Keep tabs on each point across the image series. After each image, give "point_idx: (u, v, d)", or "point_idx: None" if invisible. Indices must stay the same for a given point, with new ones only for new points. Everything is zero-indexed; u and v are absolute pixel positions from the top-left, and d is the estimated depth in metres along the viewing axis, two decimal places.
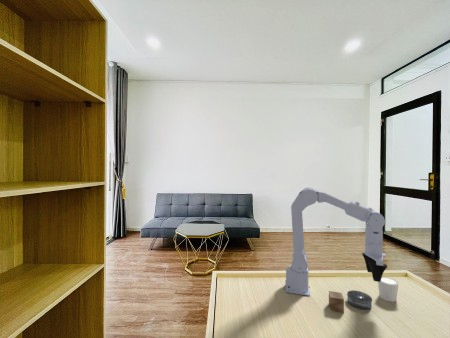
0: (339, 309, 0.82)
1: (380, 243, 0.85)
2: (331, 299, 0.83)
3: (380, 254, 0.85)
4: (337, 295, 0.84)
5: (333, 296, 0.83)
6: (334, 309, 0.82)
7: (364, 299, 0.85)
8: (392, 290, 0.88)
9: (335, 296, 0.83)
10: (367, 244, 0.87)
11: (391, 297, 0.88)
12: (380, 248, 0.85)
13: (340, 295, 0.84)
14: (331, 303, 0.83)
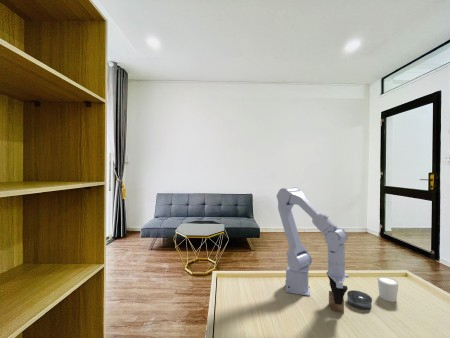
0: (339, 309, 0.82)
1: (337, 263, 0.82)
2: (331, 299, 0.83)
3: (342, 275, 0.82)
4: None
5: (333, 296, 0.83)
6: (334, 309, 0.82)
7: (364, 299, 0.85)
8: (392, 290, 0.88)
9: None
10: (329, 264, 0.84)
11: (391, 297, 0.88)
12: (342, 269, 0.81)
13: None
14: (331, 303, 0.83)
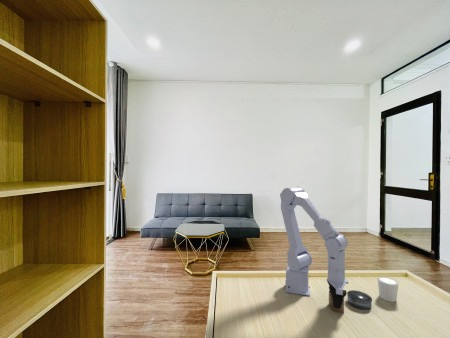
0: (339, 309, 0.82)
1: (337, 270, 0.82)
2: (331, 299, 0.83)
3: (342, 281, 0.82)
4: None
5: None
6: (334, 309, 0.82)
7: (364, 299, 0.85)
8: (392, 290, 0.88)
9: None
10: (329, 270, 0.84)
11: (391, 297, 0.88)
12: (342, 275, 0.82)
13: None
14: (331, 303, 0.83)
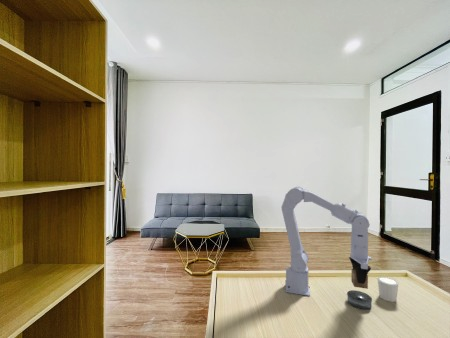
0: (363, 285, 0.85)
1: (364, 246, 0.84)
2: (355, 275, 0.86)
3: (365, 257, 0.84)
4: None
5: None
6: (358, 285, 0.85)
7: (364, 299, 0.85)
8: (392, 290, 0.88)
9: None
10: (352, 247, 0.87)
11: (391, 297, 0.88)
12: (365, 251, 0.84)
13: None
14: (355, 279, 0.86)
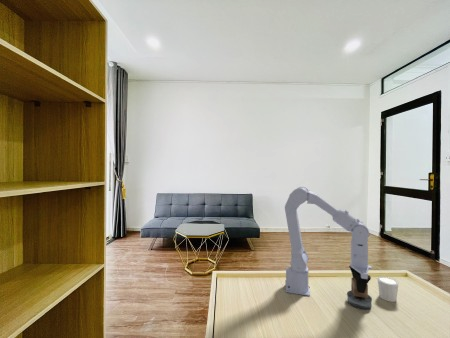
0: (363, 294, 0.85)
1: (364, 256, 0.84)
2: (355, 285, 0.86)
3: (365, 267, 0.84)
4: None
5: None
6: (358, 294, 0.85)
7: (364, 299, 0.85)
8: (392, 290, 0.88)
9: None
10: (352, 256, 0.87)
11: (391, 297, 0.88)
12: (365, 261, 0.84)
13: None
14: (355, 289, 0.86)
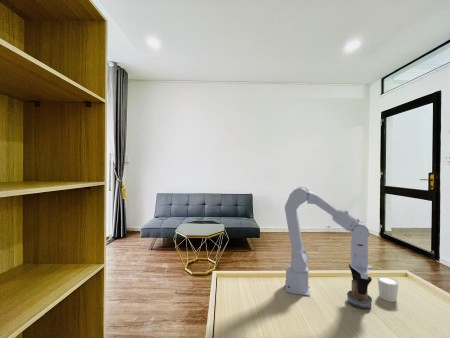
0: (363, 297, 0.85)
1: (364, 256, 0.84)
2: (355, 287, 0.86)
3: (365, 267, 0.84)
4: None
5: None
6: (358, 297, 0.85)
7: None
8: (392, 290, 0.88)
9: None
10: (352, 256, 0.87)
11: (391, 297, 0.88)
12: (365, 261, 0.84)
13: None
14: (355, 291, 0.86)
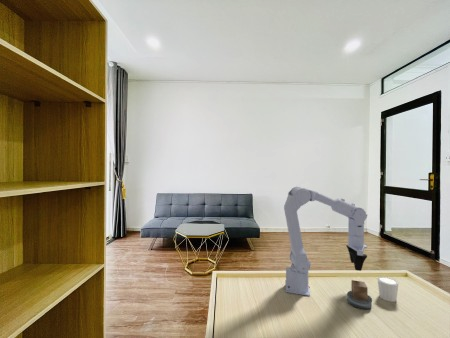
0: (363, 297, 0.85)
1: (362, 235, 0.94)
2: (355, 287, 0.86)
3: (361, 245, 0.94)
4: (360, 283, 0.87)
5: (357, 285, 0.86)
6: (358, 297, 0.85)
7: None
8: (392, 290, 0.88)
9: (358, 284, 0.86)
10: (350, 237, 0.96)
11: (391, 297, 0.88)
12: (361, 240, 0.94)
13: (363, 284, 0.87)
14: (355, 291, 0.86)
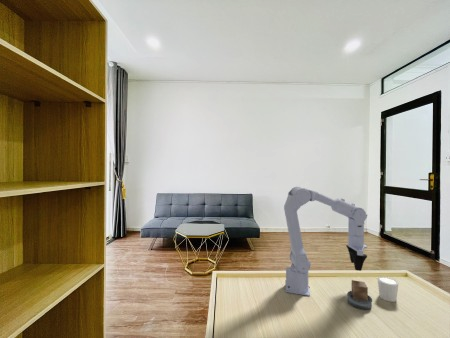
0: (363, 297, 0.85)
1: (362, 235, 0.94)
2: (355, 287, 0.86)
3: (361, 245, 0.94)
4: (360, 283, 0.87)
5: (357, 285, 0.86)
6: (358, 297, 0.85)
7: None
8: (392, 290, 0.88)
9: (358, 284, 0.86)
10: (350, 237, 0.96)
11: (391, 297, 0.88)
12: (361, 240, 0.94)
13: (363, 284, 0.87)
14: (355, 291, 0.86)
